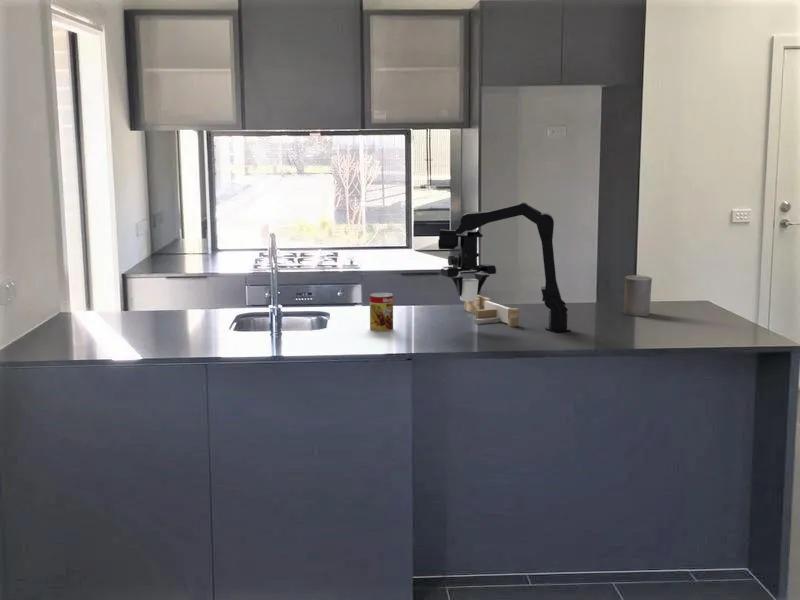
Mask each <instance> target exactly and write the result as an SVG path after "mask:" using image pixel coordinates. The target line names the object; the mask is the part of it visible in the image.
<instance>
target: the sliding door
mask: <svg viewBox="0 0 800 600" xmlns="http://www.w3.org/2000/svg"><path fill="white" fill-rule="evenodd" d="M509 308H510V307H508V306H506V305H505V306H504V305H502V304H498V303H496V302H493V301H491V302H490V301H484V309H482V310H475V314H474V315H475V316H474V317H475V318H474V319H483V318H494V317H498V318H499V322H501V323H502V322H503V323H505V324H507V325H508V309H509Z"/></svg>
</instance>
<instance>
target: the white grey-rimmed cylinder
mask: <svg viewBox="0 0 800 600" xmlns="http://www.w3.org/2000/svg"><path fill="white" fill-rule="evenodd" d="M478 282H479V280H478V279H476V278H469V277H468V278H467V277H466V278H465V277H463V282H462V294H461V296H459V300H460V301H461V302H464V301H476V300H477V291H478Z"/></svg>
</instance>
